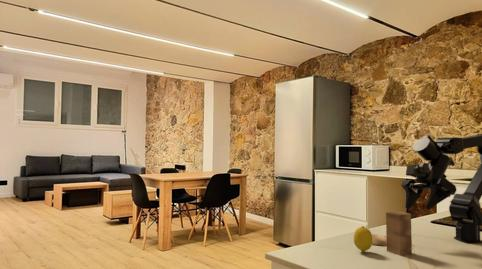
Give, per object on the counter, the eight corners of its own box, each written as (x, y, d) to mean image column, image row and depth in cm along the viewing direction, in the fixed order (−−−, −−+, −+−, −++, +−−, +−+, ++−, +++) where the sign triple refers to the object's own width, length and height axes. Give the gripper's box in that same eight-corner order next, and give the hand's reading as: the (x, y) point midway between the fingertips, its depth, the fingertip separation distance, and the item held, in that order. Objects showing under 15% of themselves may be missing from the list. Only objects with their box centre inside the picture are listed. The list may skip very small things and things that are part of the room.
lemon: (374, 255, 105) (373, 228, 105) (354, 254, 106) (354, 227, 106) (371, 250, 110) (370, 224, 111) (352, 249, 112) (352, 223, 112)
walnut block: (398, 249, 111) (397, 211, 112) (411, 253, 107) (411, 213, 107) (386, 251, 109) (386, 212, 110) (399, 255, 105) (399, 215, 105)
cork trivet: (384, 236, 127) (384, 234, 127) (400, 245, 116) (400, 242, 116) (354, 237, 126) (354, 234, 126) (368, 245, 115) (368, 242, 115)
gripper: (398, 158, 125) (379, 194, 121) (438, 151, 107) (417, 194, 103) (422, 175, 126) (404, 212, 122) (466, 172, 108) (446, 215, 104)
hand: (416, 208), depth 113 cm, fingers open, 9 cm apart
